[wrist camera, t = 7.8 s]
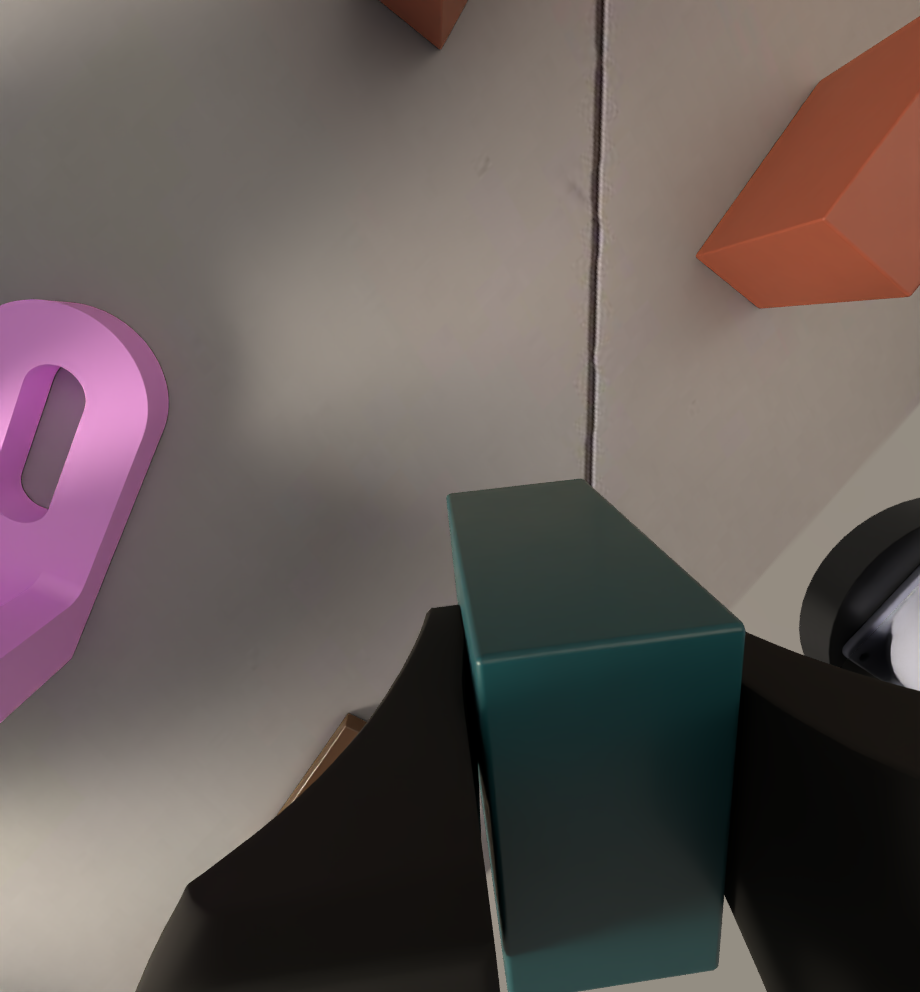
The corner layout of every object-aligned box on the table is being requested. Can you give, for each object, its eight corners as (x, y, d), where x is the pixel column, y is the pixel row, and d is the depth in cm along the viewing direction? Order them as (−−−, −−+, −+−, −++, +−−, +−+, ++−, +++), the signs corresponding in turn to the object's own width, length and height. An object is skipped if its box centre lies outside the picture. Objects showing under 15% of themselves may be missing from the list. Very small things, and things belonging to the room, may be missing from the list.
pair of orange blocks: (884, 143, 17) (1119, 45, 11) (758, 309, 18) (910, 298, 12) (468, -259, 14) (496, -692, 8) (351, -22, 15) (301, -245, 9)
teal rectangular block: (583, 477, 11) (750, 623, 6) (588, 693, 13) (720, 973, 7) (445, 492, 11) (475, 660, 6) (468, 708, 13) (509, 1006, 7)
